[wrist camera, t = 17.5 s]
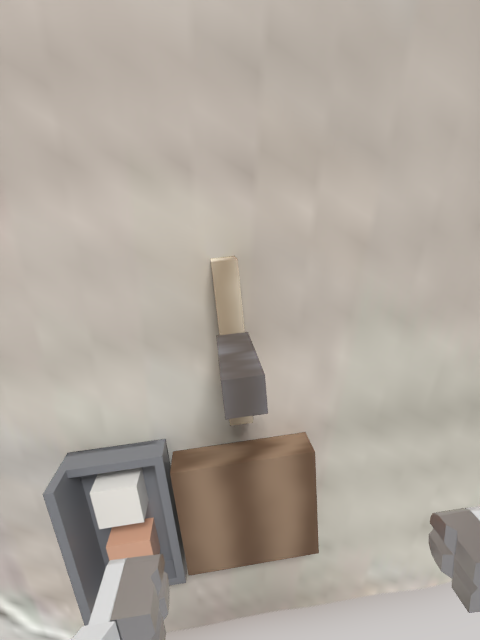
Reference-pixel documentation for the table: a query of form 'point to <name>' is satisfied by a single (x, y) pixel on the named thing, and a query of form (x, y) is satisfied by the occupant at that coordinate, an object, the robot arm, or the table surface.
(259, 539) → the brown square slab
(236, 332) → the grey block with handle
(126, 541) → the tile
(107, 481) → the tile
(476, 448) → the table surface
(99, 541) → the box
